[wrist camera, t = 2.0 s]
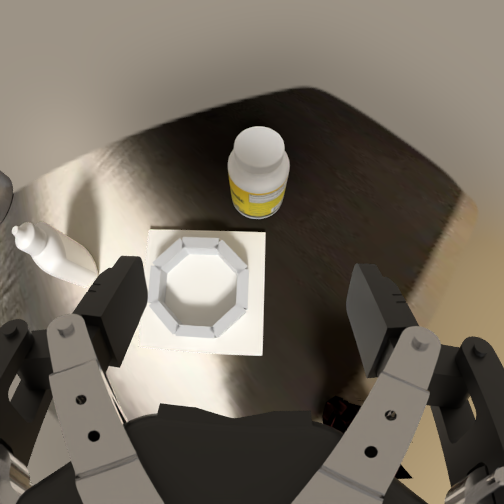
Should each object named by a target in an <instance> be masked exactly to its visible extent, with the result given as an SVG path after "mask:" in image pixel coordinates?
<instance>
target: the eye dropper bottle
mask: <svg viewBox="0 0 504 504" xmlns="http://www.w3.org/2000/svg"><path fill="white" fill-rule="evenodd" d="M12 234H13V235H14V236H15V243H16V246H17V247H18V248H19V249H20V250H22V251H24V252H26V253H29V254H31V256H32V258H33V260H34V261H35V263H36V264H37V265H38V266H39V267H40V268H41V269H42V270H43V271H45V272H46V273H48V274H50V275H52V276H54V277H57V278H59V279H62V280H65V281H67V282H70V283H73V284H75V285H78V286H81V287H84V288H87V287H88V286H89V285H90V284H91V283H92V282H93V281H94V280H95V279H96V278H97V276H98V270H97V267H96V264H95V261H94V259H93V257H92V256H91V254H90V253H89V251H88V250H87V249H86V248H85V247H83V246H82V245H81V244H79V243H78V242H76V241H75V240H73V239H71V238H70V237H68V236H67V235H65V234H63V233H62V232H60V231H59V230H57V229H56V228H54V227H52V226H51V225H49V224H47V223H45V222H43V221H40V222H38V223H36V224H35V225H34V224H32V223H30V222H26V223H23V224H22V225H21V226H20V227H18V226H15V227H13V229H12Z"/></svg>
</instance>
